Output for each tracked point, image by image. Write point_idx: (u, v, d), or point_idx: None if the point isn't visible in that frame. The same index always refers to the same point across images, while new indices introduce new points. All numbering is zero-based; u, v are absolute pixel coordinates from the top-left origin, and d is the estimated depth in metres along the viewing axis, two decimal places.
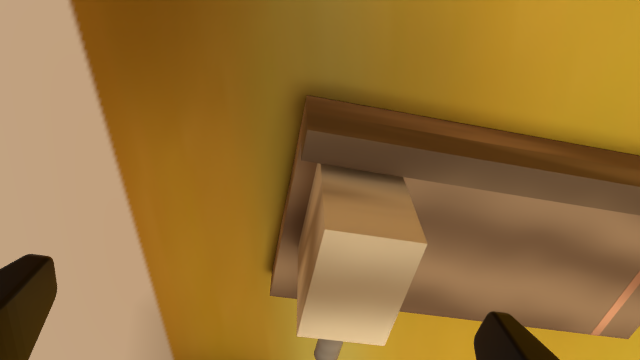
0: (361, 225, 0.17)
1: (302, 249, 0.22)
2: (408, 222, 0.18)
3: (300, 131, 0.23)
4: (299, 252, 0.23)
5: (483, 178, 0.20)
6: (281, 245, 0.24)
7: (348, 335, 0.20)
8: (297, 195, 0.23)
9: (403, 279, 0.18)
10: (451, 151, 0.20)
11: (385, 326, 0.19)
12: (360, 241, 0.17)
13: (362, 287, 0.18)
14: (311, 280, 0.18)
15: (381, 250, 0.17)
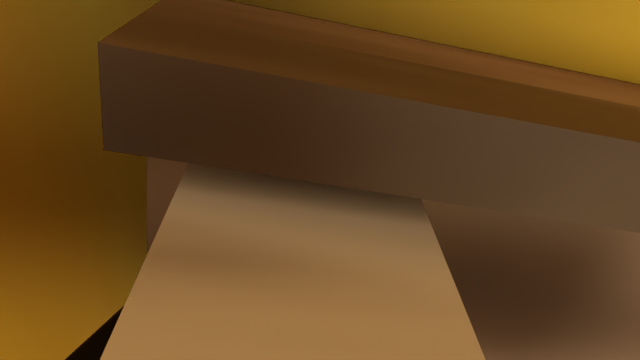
0: None
1: None
2: None
3: None
4: None
5: None
6: None
7: None
8: None
9: None
10: (568, 121, 0.07)
11: None
12: None
13: None
14: None
15: None
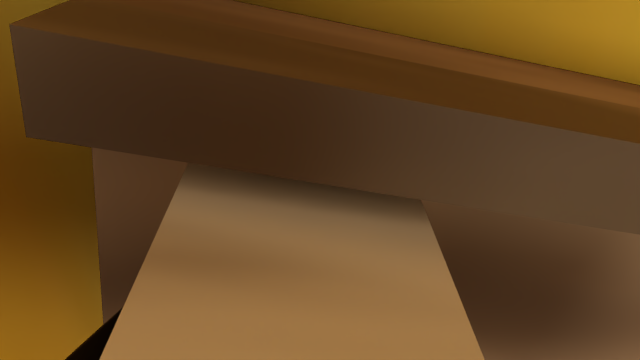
0: None
1: None
2: None
3: None
4: None
5: (600, 194, 0.07)
6: None
7: None
8: (115, 229, 0.09)
9: None
10: (508, 110, 0.06)
11: None
12: None
13: None
14: None
15: None
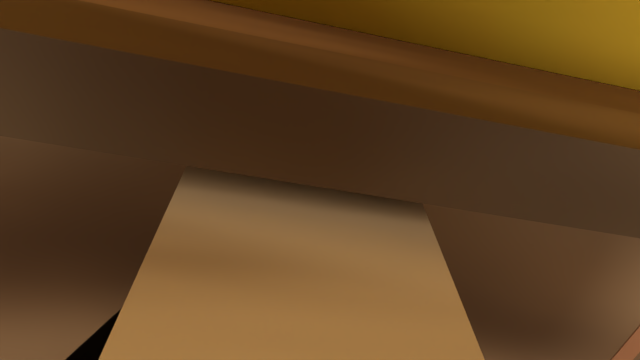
0: None
1: None
2: None
3: None
4: None
5: (67, 108, 0.06)
6: None
7: None
8: None
9: None
10: None
11: None
12: None
13: None
14: None
15: None
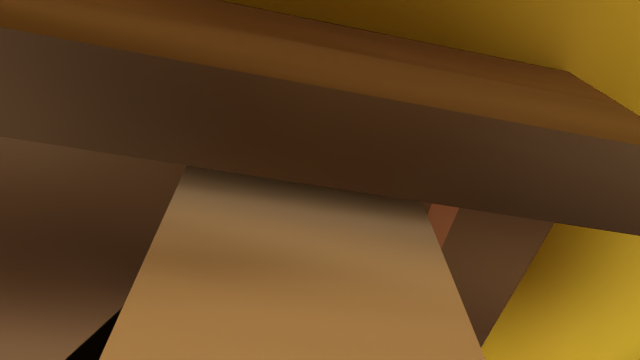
0: None
1: None
2: None
3: None
4: None
5: None
6: None
7: None
8: None
9: None
10: None
11: None
12: None
13: None
14: None
15: None
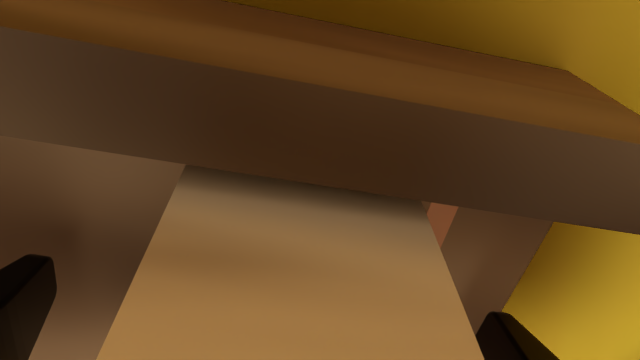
0: None
1: None
2: None
3: None
4: None
5: None
6: None
7: None
8: None
9: None
10: None
11: None
12: None
13: None
14: None
15: None
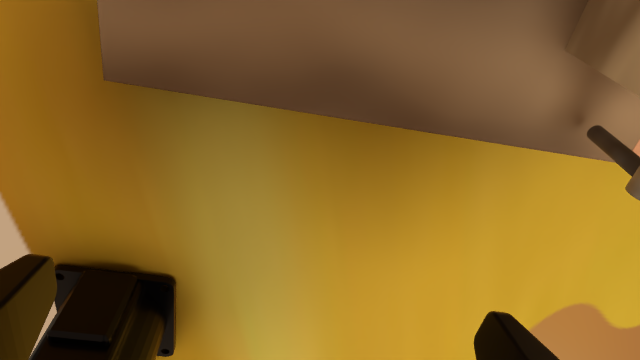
0: None
1: (611, 25, 0.14)
2: None
3: None
4: (585, 45, 0.15)
5: None
6: None
7: None
8: None
9: None
10: None
11: None
12: None
13: None
14: None
15: None
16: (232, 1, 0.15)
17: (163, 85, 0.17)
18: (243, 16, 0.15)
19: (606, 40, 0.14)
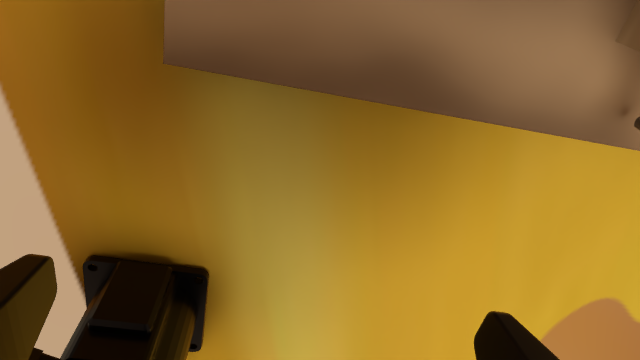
0: None
1: None
2: None
3: None
4: (639, 35, 0.16)
5: None
6: None
7: None
8: None
9: None
10: None
11: None
12: None
13: None
14: None
15: None
16: None
17: (221, 69, 0.17)
18: (308, 1, 0.16)
19: None
